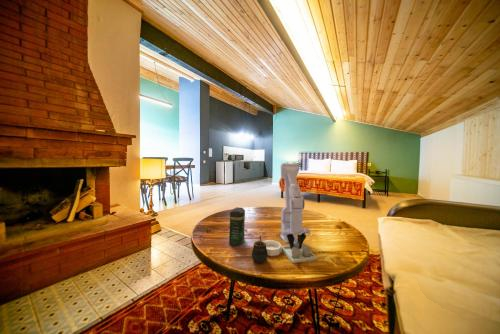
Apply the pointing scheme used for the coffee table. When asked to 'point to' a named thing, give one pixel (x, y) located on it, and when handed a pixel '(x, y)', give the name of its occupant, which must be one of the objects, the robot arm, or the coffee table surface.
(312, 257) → the tray
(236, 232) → the coffee jar
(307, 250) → the pebble
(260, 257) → the mate gourd
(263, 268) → the coffee table surface
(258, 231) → the coffee table surface
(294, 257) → the pebble
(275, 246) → the bowl
